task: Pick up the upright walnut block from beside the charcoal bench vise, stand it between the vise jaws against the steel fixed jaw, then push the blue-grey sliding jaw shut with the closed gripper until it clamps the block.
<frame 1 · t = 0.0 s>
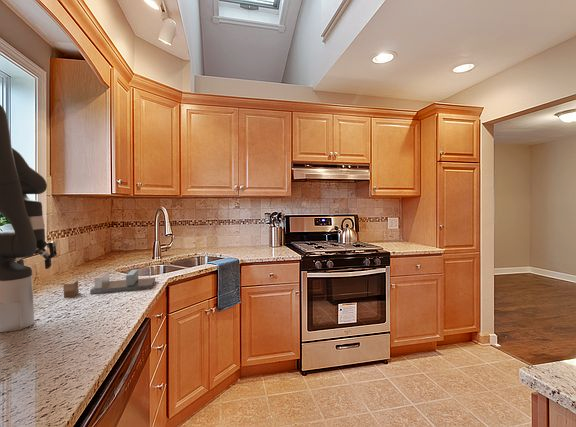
hand: (34, 269, 118), 17 cm above the table, tool pointing down, fingers open, 8 cm apart
walnut block: (71, 295, 139), on the table
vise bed: (125, 287, 151), on the table
vise jaw: (132, 277, 152), point 5 cm above the table, slide at 0.0 cm
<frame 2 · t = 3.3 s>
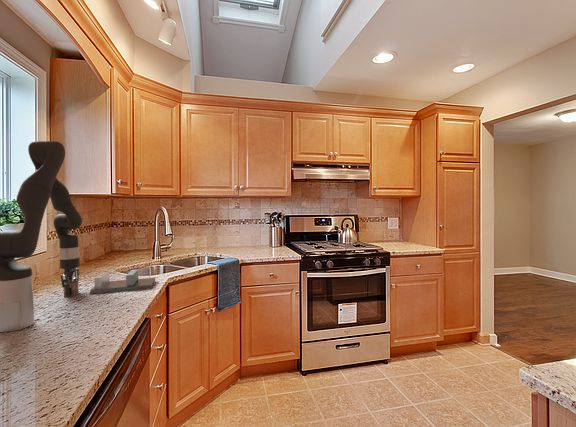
hand: (71, 293, 139), 1 cm above the table, tool pointing down, fingers closed on walnut block, 5 cm apart
walnut block: (71, 295, 139), on the table, touching gripper
everything else where it was.
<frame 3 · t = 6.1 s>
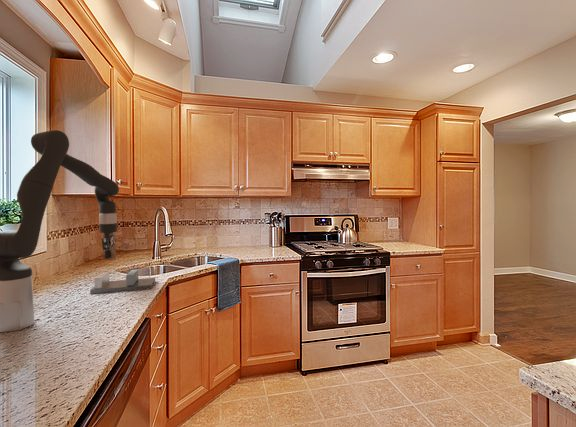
hand: (109, 257, 149), 16 cm above the table, tool pointing down, fingers closed on walnut block, 5 cm apart
walnut block: (109, 258, 149), point 15 cm above the table, touching gripper
everything else where it was.
when the fingers open (4 cm above the table, at t = 8.8 s): walnut block stays where it is, resting on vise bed.
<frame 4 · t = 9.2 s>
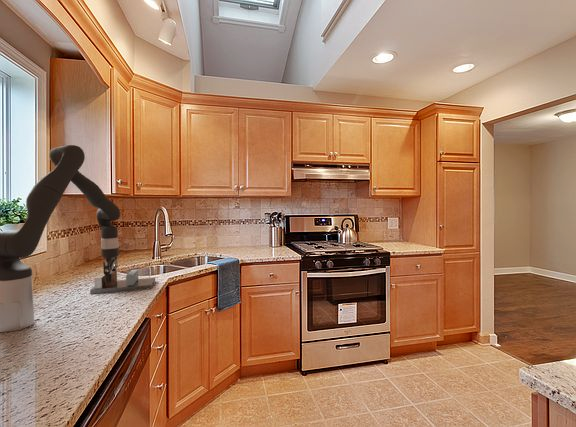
hand: (111, 279, 149), 4 cm above the table, tool pointing down, fingers open, 8 cm apart
walnut block: (111, 284, 149), point 2 cm above the table, touching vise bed
everything else where it was.
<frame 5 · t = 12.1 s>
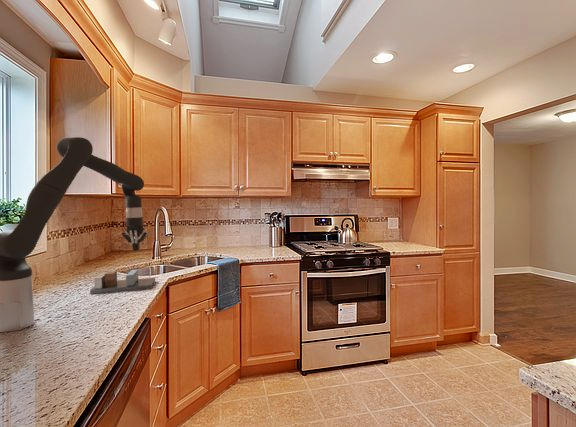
hand: (136, 250, 153), 18 cm above the table, tool pointing down, fingers closed
nothing on the table moved.
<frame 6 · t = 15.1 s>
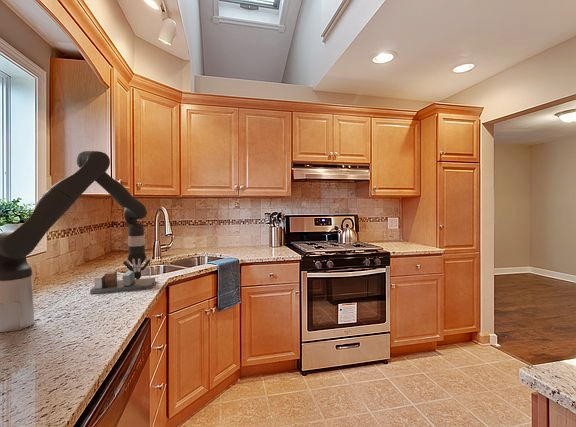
hand: (137, 278, 152), 4 cm above the table, tool pointing down, fingers closed
vise jaw: (129, 277, 151), point 5 cm above the table, slide at 1.5 cm, touching gripper
everything else where it was.
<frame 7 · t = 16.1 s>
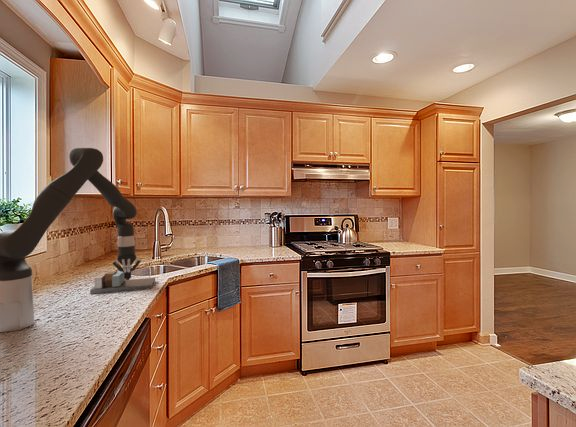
hand: (127, 279, 151), 4 cm above the table, tool pointing down, fingers closed
walnut block: (111, 284, 149), point 2 cm above the table, touching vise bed, vise jaw
vise jaw: (119, 278, 150), point 5 cm above the table, slide at 6.1 cm, touching gripper, walnut block
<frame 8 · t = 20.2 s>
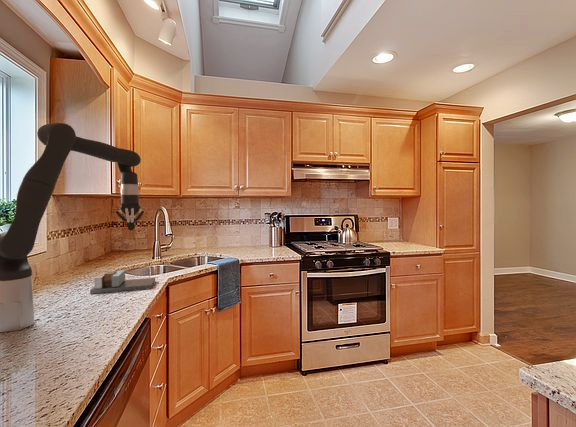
hand: (131, 230, 145), 29 cm above the table, tool pointing down, fingers closed
vise jaw: (118, 278, 150), point 5 cm above the table, slide at 6.2 cm, touching walnut block
everything else where it was.
at the end: vise jaw slide at 6.2 cm; walnut block 0.3 cm from the target spot on the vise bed, point 2.0 cm above the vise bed's base; walnut block tilted 0° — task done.
